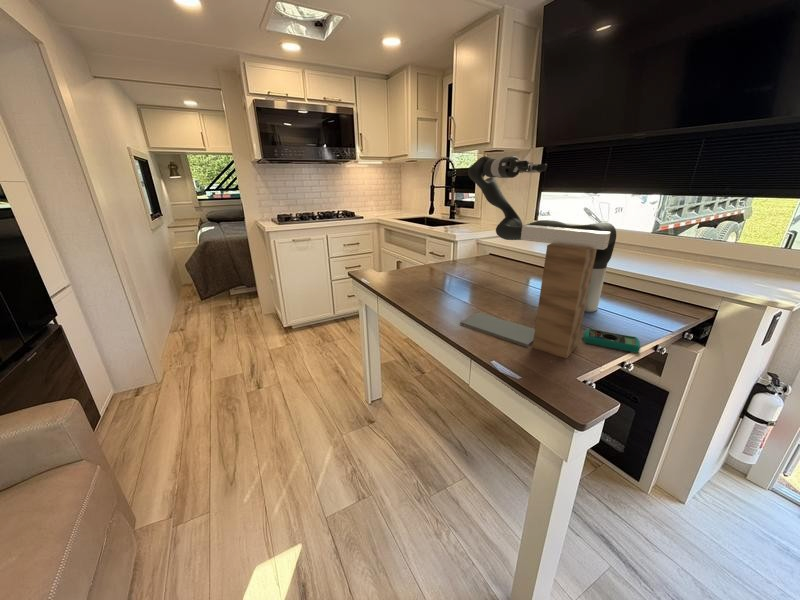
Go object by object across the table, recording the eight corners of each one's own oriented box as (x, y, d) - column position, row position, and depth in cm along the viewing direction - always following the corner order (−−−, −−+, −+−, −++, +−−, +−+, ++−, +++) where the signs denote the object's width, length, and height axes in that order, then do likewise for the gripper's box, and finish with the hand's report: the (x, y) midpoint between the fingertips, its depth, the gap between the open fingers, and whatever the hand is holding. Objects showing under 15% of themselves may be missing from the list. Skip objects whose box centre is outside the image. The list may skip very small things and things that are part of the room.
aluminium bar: (526, 237, 100) (527, 224, 99) (607, 247, 86) (610, 232, 84) (520, 239, 97) (522, 226, 96) (603, 249, 83) (606, 234, 82)
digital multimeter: (583, 334, 109) (585, 326, 108) (637, 344, 102) (639, 336, 101) (582, 343, 104) (584, 335, 103) (638, 355, 96) (641, 346, 95)
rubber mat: (477, 314, 125) (477, 312, 125) (542, 334, 109) (543, 331, 109) (460, 324, 117) (460, 321, 117) (527, 347, 101) (528, 344, 101)
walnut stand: (544, 336, 108) (560, 239, 96) (577, 346, 101) (597, 244, 90) (532, 347, 101) (547, 245, 90) (566, 358, 94) (587, 250, 83)
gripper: (517, 179, 129) (549, 179, 115) (488, 175, 124) (518, 174, 110) (521, 159, 127) (554, 156, 113) (492, 154, 122) (523, 150, 108)
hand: (536, 165), depth 111 cm, fingers open, 8 cm apart
